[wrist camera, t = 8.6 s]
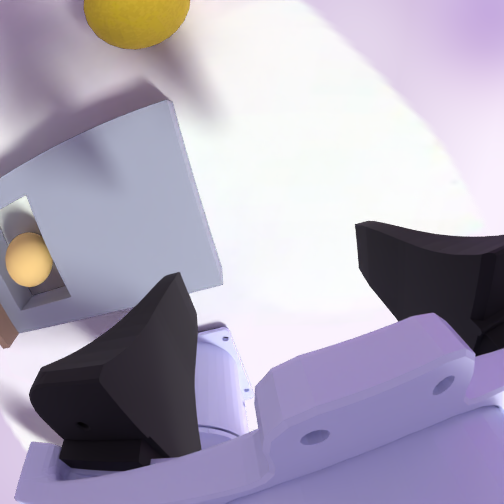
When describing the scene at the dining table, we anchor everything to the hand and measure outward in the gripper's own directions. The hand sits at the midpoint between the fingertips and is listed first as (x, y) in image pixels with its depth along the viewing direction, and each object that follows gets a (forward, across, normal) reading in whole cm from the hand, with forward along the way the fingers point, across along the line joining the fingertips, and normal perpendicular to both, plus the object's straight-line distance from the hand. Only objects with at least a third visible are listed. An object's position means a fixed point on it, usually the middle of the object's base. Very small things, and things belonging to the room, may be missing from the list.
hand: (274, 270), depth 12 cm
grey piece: (+9, +13, -2) cm, 16 cm away
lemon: (+10, +3, -14) cm, 17 cm away
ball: (+8, +18, -1) cm, 20 cm away
